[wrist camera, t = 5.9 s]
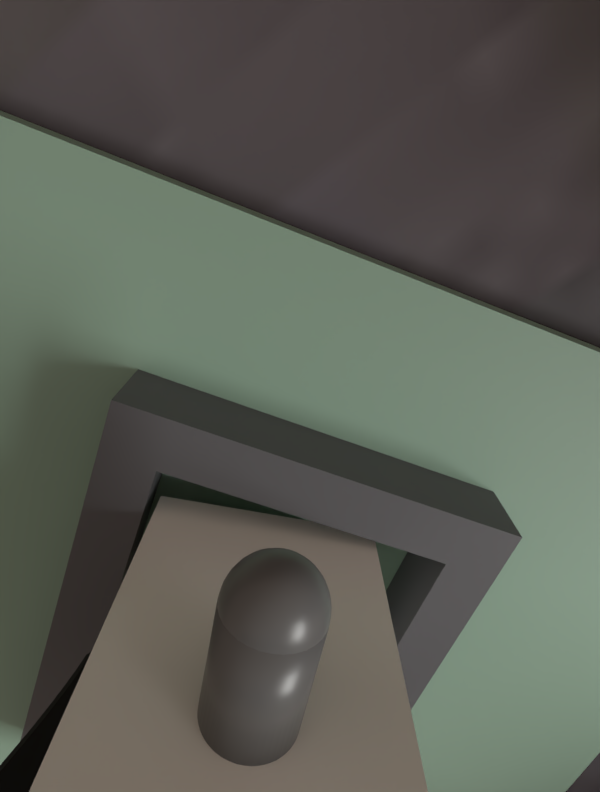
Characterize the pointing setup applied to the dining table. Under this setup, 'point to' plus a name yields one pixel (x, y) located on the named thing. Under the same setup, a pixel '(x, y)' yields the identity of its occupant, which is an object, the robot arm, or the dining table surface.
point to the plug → (241, 666)
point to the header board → (294, 447)
